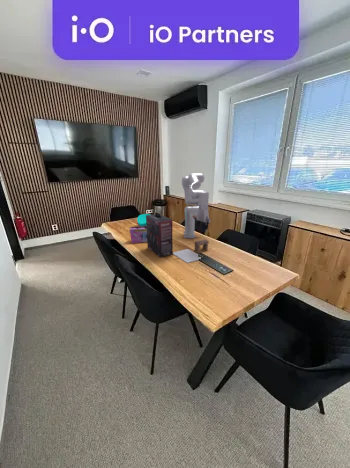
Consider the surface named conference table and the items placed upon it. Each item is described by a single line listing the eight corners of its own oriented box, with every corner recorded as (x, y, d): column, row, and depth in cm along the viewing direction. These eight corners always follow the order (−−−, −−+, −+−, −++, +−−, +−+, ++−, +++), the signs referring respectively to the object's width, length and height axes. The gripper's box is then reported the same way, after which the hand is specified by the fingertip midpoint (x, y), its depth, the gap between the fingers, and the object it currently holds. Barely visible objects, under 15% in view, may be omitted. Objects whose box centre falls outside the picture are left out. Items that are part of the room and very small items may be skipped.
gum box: (130, 243, 189) (129, 229, 185) (129, 240, 196) (128, 227, 192) (155, 241, 195) (155, 227, 190) (154, 238, 202) (153, 225, 198)
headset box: (146, 247, 180) (145, 210, 169) (159, 244, 186) (158, 209, 175) (159, 258, 160) (159, 217, 149) (173, 254, 166) (173, 215, 156)
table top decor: (133, 226, 242) (132, 215, 237) (154, 223, 255) (154, 212, 251) (146, 235, 209) (145, 223, 205) (169, 231, 223) (169, 220, 218)
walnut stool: (194, 250, 175) (194, 241, 172) (203, 247, 180) (204, 239, 178) (198, 252, 170) (198, 243, 168) (208, 249, 176) (208, 241, 173)
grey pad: (172, 253, 168) (172, 252, 168) (187, 249, 176) (187, 248, 176) (187, 263, 151) (187, 262, 151) (203, 258, 160) (203, 257, 160)
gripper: (192, 205, 168) (192, 225, 174) (207, 209, 155) (205, 230, 160) (199, 204, 172) (198, 224, 178) (214, 208, 158) (212, 229, 164)
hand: (202, 227), depth 169 cm, fingers open, 9 cm apart
